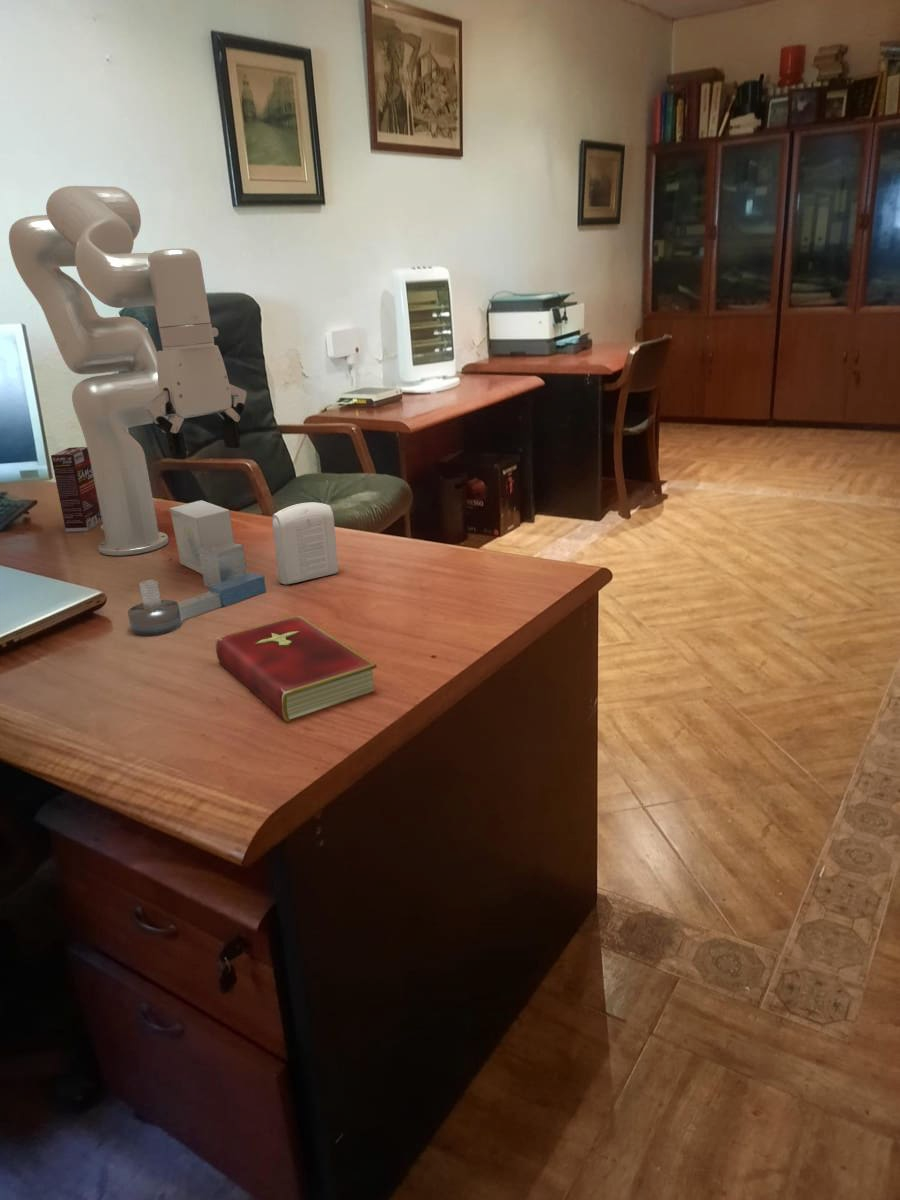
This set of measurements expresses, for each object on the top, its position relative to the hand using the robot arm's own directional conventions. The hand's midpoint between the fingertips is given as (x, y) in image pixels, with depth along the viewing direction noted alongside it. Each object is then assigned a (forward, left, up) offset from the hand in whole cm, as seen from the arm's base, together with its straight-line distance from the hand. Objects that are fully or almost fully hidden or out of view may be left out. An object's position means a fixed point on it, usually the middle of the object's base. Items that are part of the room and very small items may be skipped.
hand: (206, 452), depth 137 cm
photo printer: (+10, +10, -22) cm, 26 cm away
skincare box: (-10, +4, -22) cm, 24 cm away
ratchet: (+8, -10, -21) cm, 25 cm away
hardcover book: (+38, -16, -22) cm, 47 cm away
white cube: (+1, 0, -21) cm, 21 cm away
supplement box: (-56, +5, -22) cm, 61 cm away
